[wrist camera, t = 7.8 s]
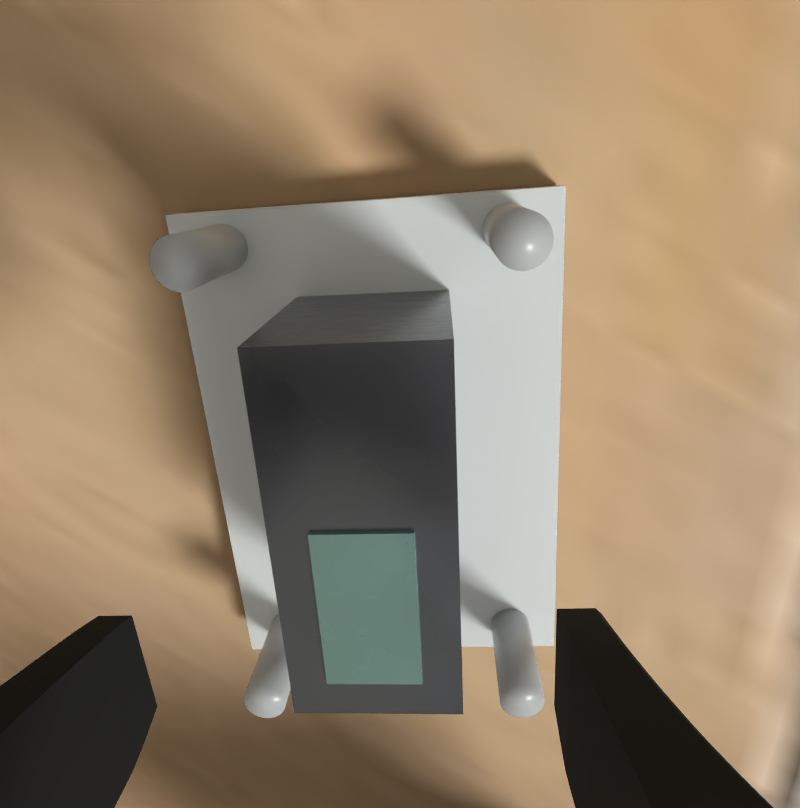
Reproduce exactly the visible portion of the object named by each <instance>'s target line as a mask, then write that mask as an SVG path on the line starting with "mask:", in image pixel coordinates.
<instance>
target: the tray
mask: <svg viewBox="0 0 800 808" xmlns="http://www.w3.org/2000/svg"><path fill="white" fill-rule="evenodd" d="M565 194H566V186H559V185H557V186H544V187H530V188H516V189H503V190H489V191H475V192H462V193H448V194H435V195H421V196H407V197H394V198H380V199H366V200H353V201H339V202H326V203H312V204H298V205H285V206H271V207H257V208H244V209H230V210H217V211H203V212H189V213H178V214H171V215H165V216H166V221H167V226H168V231H169V235H166V236H163V237H161V238H160V239H158V240H157V241H156V242H155V243H154V245H153V246H152V248H151V251H150V255H149V263H150V268H151V271H152V273H153V275H154V277H155V278H156V280H157V281H158V282H159V283H160V284H161V285H162V286H164V287H165V288H167V289H169V290H171V291H175V292H181V296H182V301H183V306H184V311H185V316H186V321H187V326H188V331H189V336H190V341H191V346H192V351H193V356H194V361H195V366H196V371H197V376H198V381H199V386H200V391H201V396H202V401H203V406H204V411H205V416H206V421H207V426H208V431H209V436H210V441H211V446H212V451H213V456H214V461H215V466H216V471H217V476H218V481H219V486H220V491H221V496H222V501H223V506H224V511H225V516H226V521H227V526H228V531H229V536H230V541H231V546H232V551H233V556H234V561H235V566H236V570H237V575H238V580H239V585H240V590H241V595H242V600H243V605H244V610H245V615H246V620H247V625H248V630H249V635H250V640H251V645H252V649H262V650H261V653H260V655H259V658H258V661H257V663H256V666H255V669H254V671H253V674H252V677H251V679H250V682H249V685H248V687H247V690H246V693H245V695H244V704H245V706H246V708H247V709H248V710H249V711H250V712H251V713H252V714H254V715H256V716H259V717H262V718H273V717H276V716H278V715H280V714H281V713H282V712H283V711H284V709H285V706H286V703H287V699H288V696H289V693H290V689H291V687H290V681H289V674H288V668H287V662H286V655H285V649H284V643H283V636H282V630H281V624H280V617H279V611H278V605H277V598H276V592H275V586H274V579H273V573H272V567H271V560H270V554H269V548H268V541H267V535H266V529H265V522H264V516H263V509H262V503H261V497H260V490H259V484H258V478H257V471H256V465H255V459H254V452H253V446H252V440H251V433H250V427H249V421H248V414H247V408H246V402H245V395H244V389H243V383H242V376H241V370H240V364H239V357H238V351H237V347H238V346H239V345H241V344H242V343H243V342H244V341H245V340H246V339H248V338H249V337H250V336H251V335H252V334H254V333H255V332H256V331H257V330H258V329H259V328H261V327H262V326H263V325H264V324H265V323H267V322H268V321H269V320H270V319H271V318H272V317H274V316H275V315H276V314H277V313H278V312H279V311H281V310H282V309H283V308H284V307H285V306H287V305H288V304H289V303H290V302H291V301H292V300H294V299H295V298H296V297H303V296H325V295H347V294H369V293H391V292H413V291H435V290H449V293H450V304H451V314H452V325H453V335H454V364H455V405H456V445H457V486H458V527H459V568H460V609H461V647H493V646H494V654H495V662H496V671H497V679H498V687H499V696H500V704H501V707H502V708H503V710H504V711H505V712H506V713H508V714H509V715H512V716H514V717H521V718H524V717H530V716H533V715H535V714H537V713H538V712H539V711H540V710H541V709H542V708H543V706H544V702H545V699H544V694H543V689H542V684H541V679H540V674H539V669H538V664H537V660H536V655H535V650H534V646H554V622H555V583H556V544H557V505H558V466H559V427H560V389H561V350H562V311H563V272H564V233H565Z"/></svg>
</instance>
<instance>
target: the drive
mask: <svg viewBox="0 0 800 808" xmlns="http://www.w3.org/2000/svg"><path fill="white" fill-rule="evenodd" d="M237 351H238V357H239V364H240V370H241V376H242V383H243V389H244V395H245V402H246V408H247V414H248V421H249V427H250V433H251V440H252V446H253V452H254V459H255V465H256V471H257V478H258V484H259V490H260V497H261V503H262V509H263V516H264V522H265V529H266V535H267V541H268V548H269V554H270V560H271V567H272V573H273V579H274V586H275V592H276V598H277V605H278V611H279V617H280V624H281V630H282V636H283V643H284V649H285V655H286V662H287V668H288V674H289V681H290V687H291V693H292V700H293V706H294V712H295V713H388V714H463V690H462V650H461V609H460V568H459V527H458V486H457V445H456V405H455V364H454V335H453V325H452V314H451V304H450V293H449V290H435V291H413V292H391V293H369V294H347V295H325V296H303V297H296V298H295V299H294V300H292V301H291V302H290V303H289V304H288V305H287V306H285V307H284V308H283V309H282V310H281V311H279V312H278V313H277V314H276V315H275V316H274V317H272V318H271V319H270V320H269V321H268V322H267V323H265V324H264V325H263V326H262V327H261V328H259V329H258V330H257V331H256V332H255V333H254V334H252V335H251V336H250V337H249V338H248V339H246V340H245V341H244V342H243V343H242V344H241V345H239V346H238V347H237Z"/></svg>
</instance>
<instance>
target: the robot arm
mask: <svg viewBox="0 0 800 808" xmlns="http://www.w3.org/2000/svg"><path fill="white" fill-rule="evenodd" d="M554 706H555V712H556V718H557V724H558V730H559V736H560V742H561V748H562V753H563V759H564V765H565V770H566V774H567V778H568V782H569V786H570V789H571V793H572V797H573V800H574V804H575V808H773V807H772V806H771V805H770V804H769V803H768V802H767V801H766V800H765V799H764V798H763V797H762V796H761V795H760V794H759V793H758V792H757V791H756V790H755V789H754V788H753V787H752V786H751V785H750V784H749V783H748V782H747V781H746V780H745V779H744V778H743V777H742V776H741V775H740V774H739V773H738V772H737V771H736V770H735V769H734V768H733V767H732V766H731V765H730V764H729V763H728V762H727V761H726V760H725V759H724V758H723V757H722V756H721V755H720V754H719V753H718V752H717V750H716V749H715V748H714V747H713V746H712V745H711V744H710V743H709V742H708V741H707V740H706V739H705V738H704V737H703V736H702V734H701V733H700V732H699V731H698V730H697V729H696V728H695V727H694V726H693V725H692V724H691V722H690V721H689V720H688V719H687V718H686V717H685V716H684V714H683V713H682V712H681V711H680V710H679V709H678V708H677V707H676V705H675V704H674V703H673V702H672V701H671V700H670V699H669V697H668V696H667V695H666V694H665V693H664V692H663V691H662V689H661V688H660V687H659V686H658V685H657V684H656V682H655V681H654V680H653V679H652V678H651V676H650V675H649V674H648V673H647V672H646V670H645V669H644V668H643V667H642V665H641V664H640V663H639V662H638V660H637V659H636V658H635V657H634V656H633V654H632V653H631V652H630V651H629V649H628V648H627V647H626V645H625V644H624V643H623V642H622V640H621V639H620V638H619V636H618V635H617V634H616V633H615V631H614V630H613V629H612V627H611V626H610V625H609V623H608V622H607V621H606V619H605V618H604V617H603V615H602V614H601V613H600V612H599V611H598V610H597V609H596V608H585V609H557V624H556V663H555V702H554ZM156 708H157V704H156V701H155V697H154V693H153V690H152V686H151V683H150V679H149V675H148V672H147V668H146V665H145V661H144V657H143V654H142V650H141V647H140V643H139V640H138V636H137V632H136V629H135V625H134V622H133V618H132V616H98V617H96V618H95V619H93V620H92V621H90V622H89V623H87V624H86V625H84V626H83V627H81V628H80V629H78V630H77V631H75V632H74V633H72V634H71V635H70V636H68V637H67V638H65V639H64V640H63V641H61V642H60V643H58V644H57V645H56V646H54V647H53V648H52V649H50V650H49V651H48V652H46V653H45V654H43V655H42V656H41V657H39V658H38V659H37V660H35V661H34V662H33V663H31V664H30V665H28V666H27V667H26V668H24V669H23V670H22V671H20V672H19V673H18V674H16V675H15V676H13V677H12V678H11V679H9V680H8V681H7V682H5V683H4V684H2V685H1V686H0V808H114V807H115V805H116V803H117V801H118V799H119V797H120V795H121V793H122V791H123V789H124V788H125V786H126V784H127V781H128V779H129V777H130V775H131V773H132V771H133V769H134V767H135V764H136V762H137V759H138V757H139V754H140V752H141V749H142V747H143V744H144V741H145V739H146V736H147V733H148V730H149V728H150V725H151V722H152V719H153V716H154V714H155V711H156Z"/></svg>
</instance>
